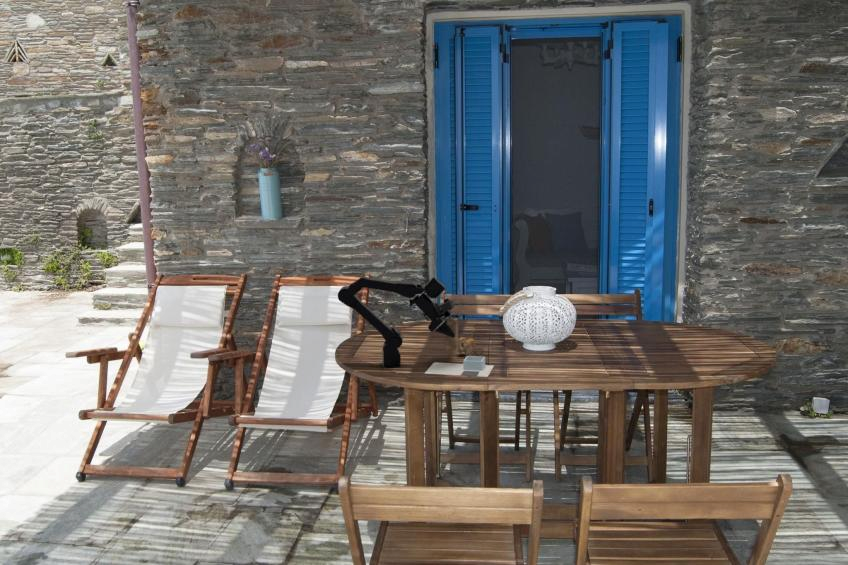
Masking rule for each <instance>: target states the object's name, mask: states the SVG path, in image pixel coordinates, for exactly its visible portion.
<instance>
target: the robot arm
mask: <svg viewBox="0 0 848 565" xmlns="http://www.w3.org/2000/svg"><path fill="white" fill-rule="evenodd" d="M365 288H367V289H372V290H379V291H384V292H393V293H395V294H398V295H399V296H402V297H405V298H408V299H409V300H408V301H409V307H412V306H414V305H415V306H416V307H417V308H418V310H420V312H421V313H423V314H422V315H423V317H427V319H429V321H430V323H429V325H428V327H427V328H428V330H429V331H430V332H431V333H433V332H438V333H440V334H442V335H445V336H446V335H447V336H450V337H452V338H454V337H455V335H454V333H453V332H452V331H451V329H450V328H449V326H448V325H447V320H446V319H447V318H452V314H453V311H451V310H453V309H454V308H455V304H454V301H453V300H452V299H450V298H448V297H447V298H444V299H443V302H442V303H440V304H439V303H438V302H435V303H434V301H433V300H432V299H438V297H439V296H441V295H442V294H443V293H444V292H445V290H447V287H446V286H445V285H444V284H443V283H442V282H441V281H440V280H438V278H435V276H433V277H432V278H430V280H429V281H428V282H427V283H426V284H425V285H424V284H418V283H416V282H415V281H411V280H402V281H394V280H393V281H391V280H386V279H380V278H374V277H369V276H368V277H367V276H365V275H363V276H360V277H359V278H358V279H356V280H355V281H353V282H352V283H351V284H349V285H344V286H342V287H341V288H340V289H339V291H338V293H337V299H338V301H339V302H341V303H342V304H343V305H345V306H347V307H349V308H351V309H353V310H354V311H356V312H357V313H358V314H359V315H360V316H361V318H363V319H364V320H366V322H367V323H368V324H370V325H371V326H372V327H373V328H374V329H375V330H376V331H377V332H378V333H380V335H381V336H382V338H383V340H384V342H383V345H382V350H381V354H382V356H381V357H382V362H381V365H382V367H383V366H384V367H390V368H401V364H402V363H401V362H402V360H401V353H400V350H399V348H400V347H401V346H402V345H403V341H404V338H403V337H404V336H403V333H402V330H400V329H398V327H396V325H395V324H393V325H392V326H390V325H388V324H387V323H386V322H384V320H382V318H380V317H379V316H378V315H377V314H376V313H375V312H374V311H373V310H372V309H370V307H368V306H367V305H366V304H365V303H364V302H362V300H361V299H360V296H358V293H359V292H361V290H363V289H365ZM412 298H413V299H412ZM384 367H383V368H384Z"/></svg>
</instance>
